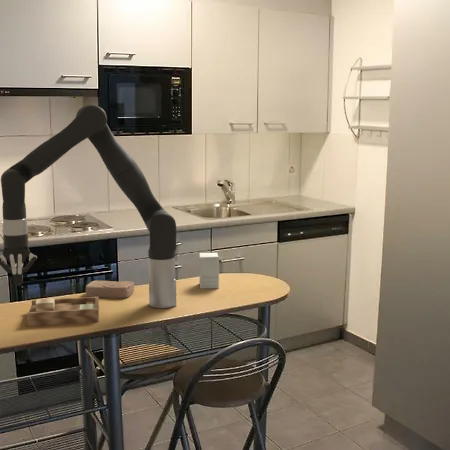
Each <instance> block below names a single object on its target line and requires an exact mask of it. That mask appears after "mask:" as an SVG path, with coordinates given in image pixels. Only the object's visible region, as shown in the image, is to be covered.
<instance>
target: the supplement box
mask: <svg viewBox="0 0 450 450" xmlns="http://www.w3.org/2000/svg"><path fill="white" fill-rule="evenodd" d="M198 259H199V286H200V287H199V288H200V289H202V290H203V289H219V286H220V277H219V276H220V275H219V274H220V273H219V272H220V270H219V268H220V267H219V266H220V265H219V264H220V263H219V261H220V260H219V259H220V257H219V255H218V252H199V257H198Z"/></svg>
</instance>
